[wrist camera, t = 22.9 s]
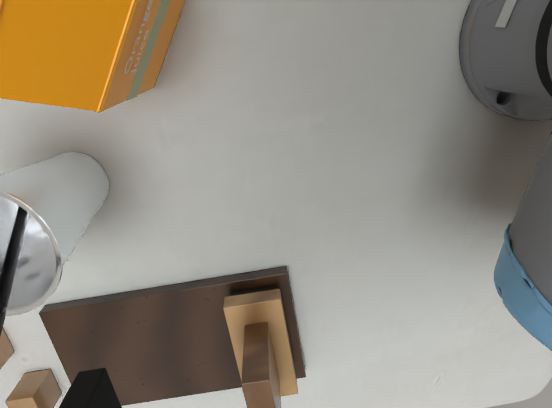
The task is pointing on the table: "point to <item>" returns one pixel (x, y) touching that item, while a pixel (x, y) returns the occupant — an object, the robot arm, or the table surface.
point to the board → (162, 336)
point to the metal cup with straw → (44, 225)
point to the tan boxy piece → (5, 349)
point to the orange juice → (83, 49)
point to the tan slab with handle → (261, 345)
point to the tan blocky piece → (35, 391)
